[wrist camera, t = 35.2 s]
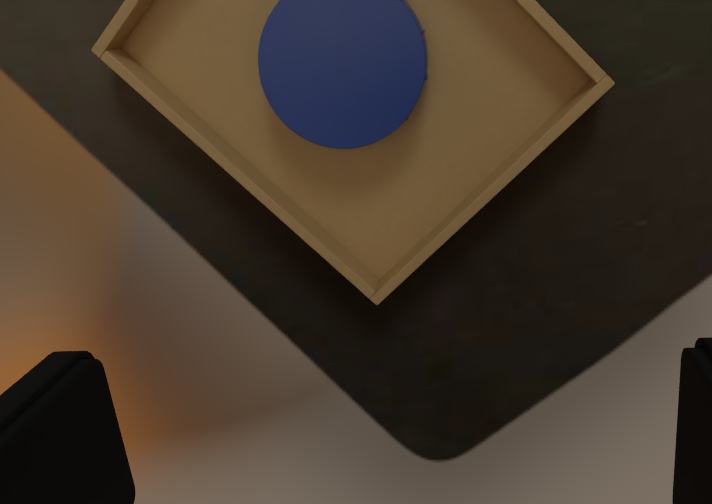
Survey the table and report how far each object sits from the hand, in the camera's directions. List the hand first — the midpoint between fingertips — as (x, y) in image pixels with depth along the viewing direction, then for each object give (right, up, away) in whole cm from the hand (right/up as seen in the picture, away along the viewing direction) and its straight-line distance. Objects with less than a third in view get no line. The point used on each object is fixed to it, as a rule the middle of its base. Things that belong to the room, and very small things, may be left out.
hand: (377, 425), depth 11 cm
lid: (-1, +11, +17) cm, 20 cm away
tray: (-1, +11, +19) cm, 22 cm away
